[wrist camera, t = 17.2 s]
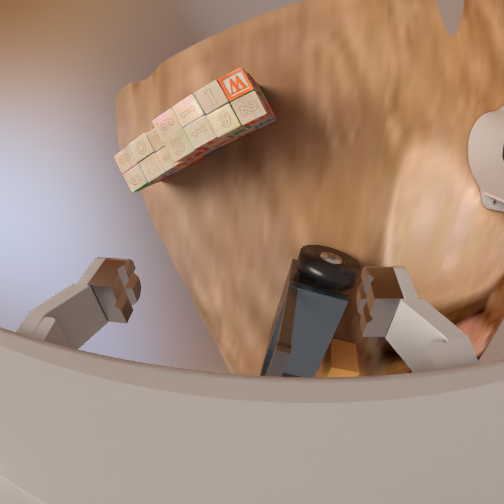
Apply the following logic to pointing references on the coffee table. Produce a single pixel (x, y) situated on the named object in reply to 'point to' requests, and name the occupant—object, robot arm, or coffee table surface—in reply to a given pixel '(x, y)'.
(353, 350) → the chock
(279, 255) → the coffee table surface
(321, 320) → the trolley
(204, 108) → the stack of blocks
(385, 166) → the coffee table surface
